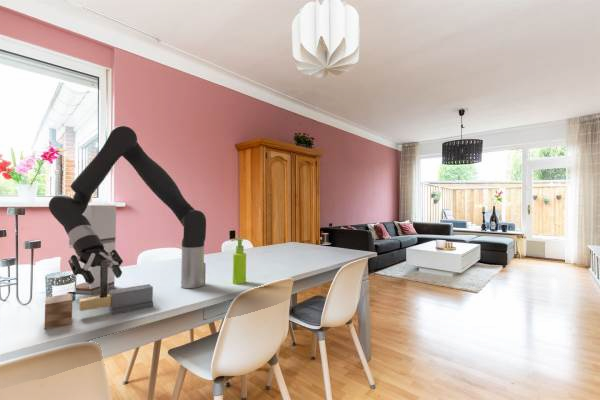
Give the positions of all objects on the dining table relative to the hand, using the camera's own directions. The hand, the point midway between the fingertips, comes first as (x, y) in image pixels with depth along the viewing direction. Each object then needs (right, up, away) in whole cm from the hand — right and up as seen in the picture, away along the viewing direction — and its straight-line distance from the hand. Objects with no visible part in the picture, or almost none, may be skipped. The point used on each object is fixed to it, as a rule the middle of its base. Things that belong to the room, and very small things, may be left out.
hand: (106, 279), depth 91 cm
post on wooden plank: (+1, -9, +2) cm, 9 cm away
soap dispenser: (+34, -13, +39) cm, 53 cm away
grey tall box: (-24, -12, +27) cm, 38 cm away
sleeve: (+5, -11, +5) cm, 14 cm away
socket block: (-10, -11, -7) cm, 16 cm away
